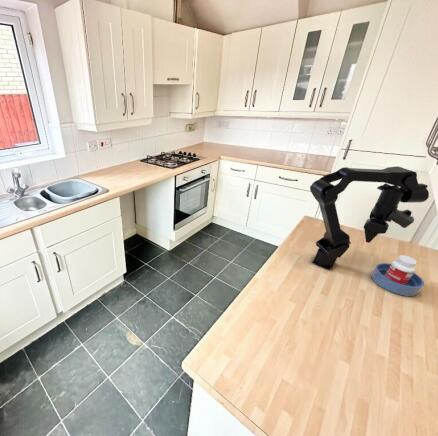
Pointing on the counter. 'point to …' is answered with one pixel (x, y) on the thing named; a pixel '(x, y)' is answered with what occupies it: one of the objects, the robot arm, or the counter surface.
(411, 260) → the pill bottle
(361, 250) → the counter surface
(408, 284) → the bowl
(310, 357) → the counter surface
